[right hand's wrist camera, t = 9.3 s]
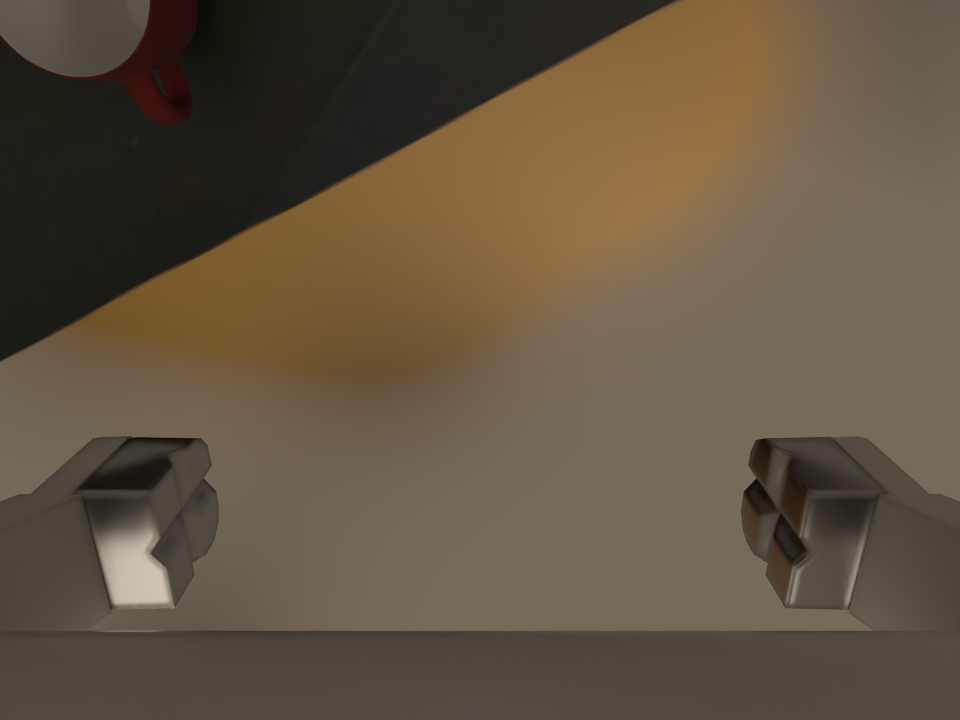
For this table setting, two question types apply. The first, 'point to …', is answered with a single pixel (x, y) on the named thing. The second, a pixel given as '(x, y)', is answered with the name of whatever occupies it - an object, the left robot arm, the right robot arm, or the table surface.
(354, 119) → the table surface
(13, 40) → the mug
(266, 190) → the table surface
